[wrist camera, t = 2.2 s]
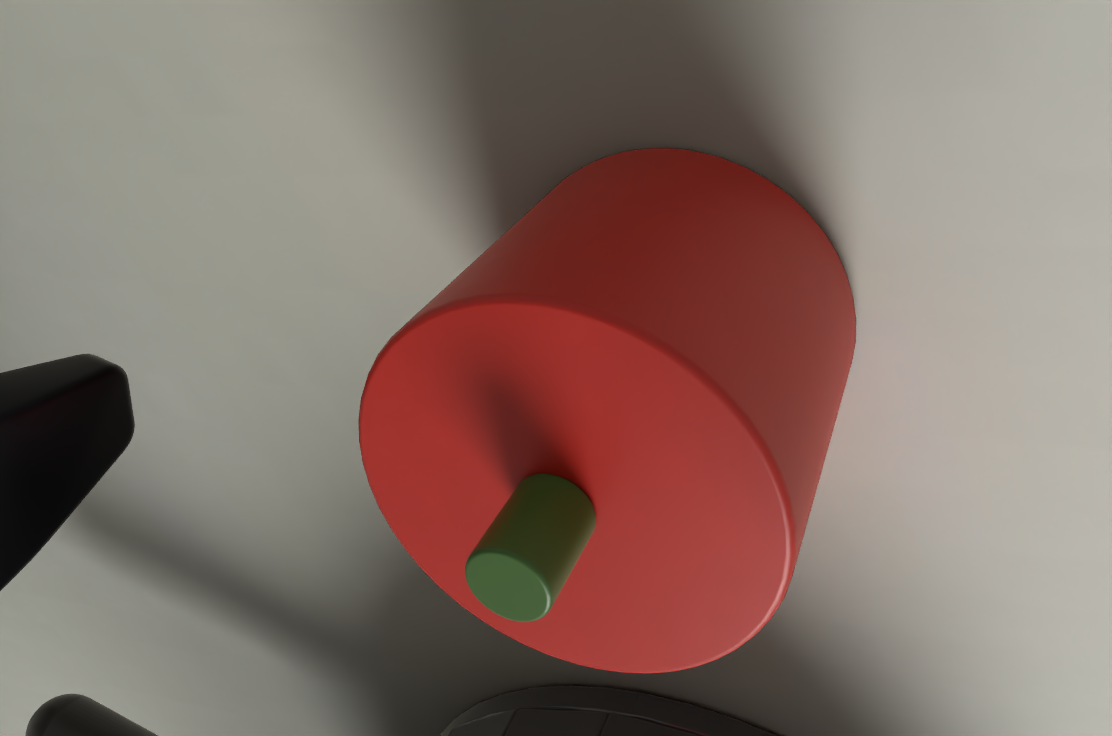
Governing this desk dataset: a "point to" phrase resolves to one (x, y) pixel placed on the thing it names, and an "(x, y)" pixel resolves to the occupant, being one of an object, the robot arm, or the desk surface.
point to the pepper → (620, 413)
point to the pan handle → (80, 719)
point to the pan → (592, 715)
